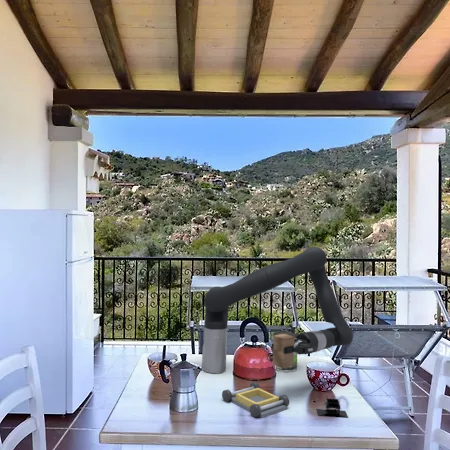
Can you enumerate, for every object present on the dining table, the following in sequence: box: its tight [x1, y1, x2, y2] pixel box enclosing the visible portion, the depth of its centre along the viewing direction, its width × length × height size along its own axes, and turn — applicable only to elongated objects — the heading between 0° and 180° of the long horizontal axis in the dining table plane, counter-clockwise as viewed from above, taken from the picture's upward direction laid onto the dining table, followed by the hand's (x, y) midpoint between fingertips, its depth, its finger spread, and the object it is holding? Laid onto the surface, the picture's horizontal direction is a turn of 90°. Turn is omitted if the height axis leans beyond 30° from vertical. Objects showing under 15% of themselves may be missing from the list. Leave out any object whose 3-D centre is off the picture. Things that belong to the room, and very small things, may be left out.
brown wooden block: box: [272, 334, 295, 368], centre depth 151 cm, size 5×5×10 cm
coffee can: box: [272, 330, 298, 373], centre depth 181 cm, size 10×10×14 cm
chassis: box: [221, 381, 290, 419], centre depth 144 cm, size 18×14×4 cm
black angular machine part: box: [315, 398, 349, 419], centre depth 139 cm, size 12×7×5 cm, turn 85°
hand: (278, 348), depth 149 cm, fingers closed on brown wooden block, 5 cm apart
